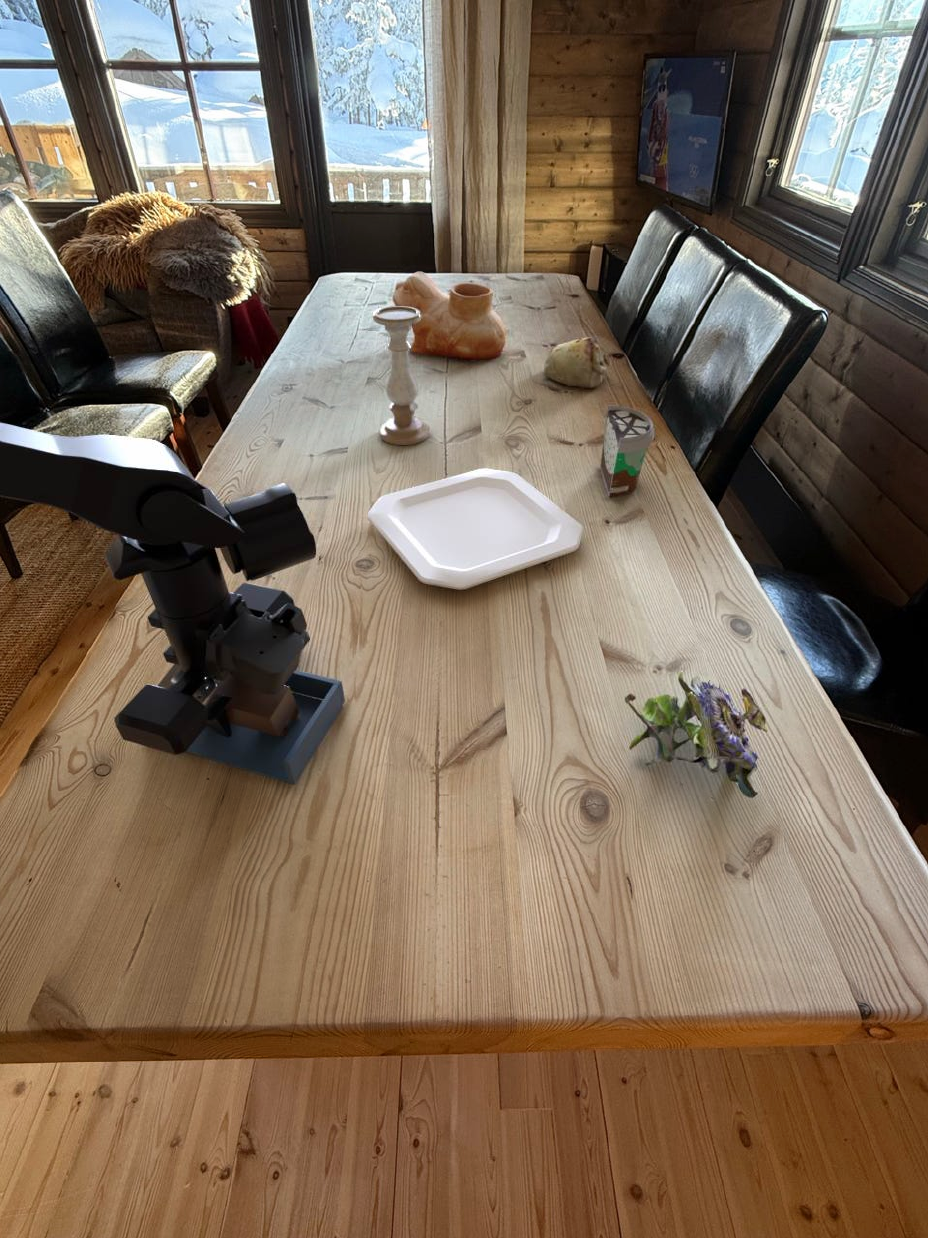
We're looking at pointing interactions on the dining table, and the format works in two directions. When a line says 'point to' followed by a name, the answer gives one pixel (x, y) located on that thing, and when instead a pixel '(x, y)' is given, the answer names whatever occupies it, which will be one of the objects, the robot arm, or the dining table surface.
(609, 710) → the dining table surface
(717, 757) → the passion flower
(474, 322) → the ceramic vessel
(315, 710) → the dustpan
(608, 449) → the food container
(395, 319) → the candle holder
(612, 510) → the dining table surface
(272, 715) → the brown long block
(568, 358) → the pastry
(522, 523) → the plate
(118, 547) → the robot arm
